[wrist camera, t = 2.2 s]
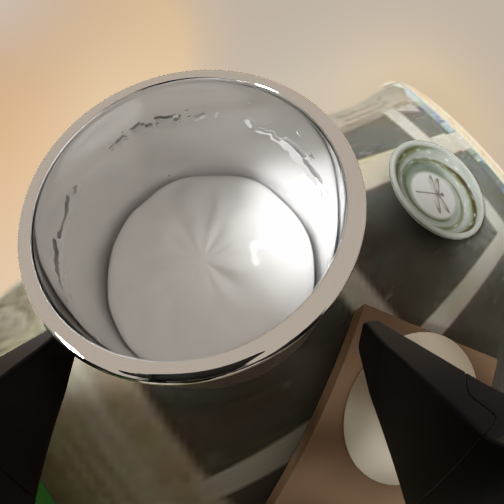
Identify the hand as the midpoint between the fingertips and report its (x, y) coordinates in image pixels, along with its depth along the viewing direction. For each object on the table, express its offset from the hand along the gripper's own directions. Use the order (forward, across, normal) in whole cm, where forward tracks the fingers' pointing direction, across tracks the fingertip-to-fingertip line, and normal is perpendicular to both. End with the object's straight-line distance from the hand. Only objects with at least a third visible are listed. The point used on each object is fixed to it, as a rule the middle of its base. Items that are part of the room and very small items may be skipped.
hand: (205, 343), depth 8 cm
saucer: (+16, -17, 0) cm, 23 cm away
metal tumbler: (+9, 0, +6) cm, 11 cm away
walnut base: (+2, -9, +13) cm, 16 cm away
